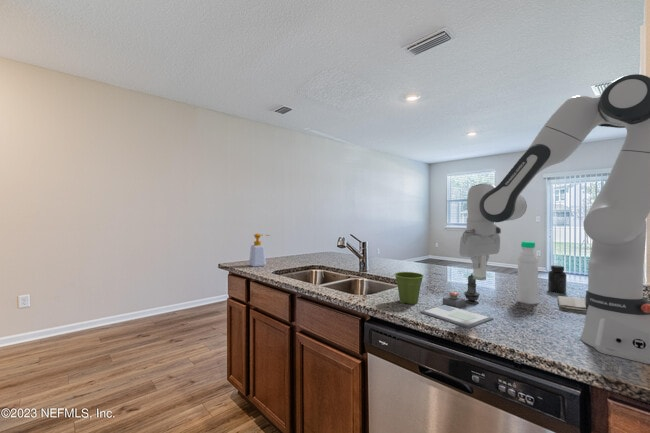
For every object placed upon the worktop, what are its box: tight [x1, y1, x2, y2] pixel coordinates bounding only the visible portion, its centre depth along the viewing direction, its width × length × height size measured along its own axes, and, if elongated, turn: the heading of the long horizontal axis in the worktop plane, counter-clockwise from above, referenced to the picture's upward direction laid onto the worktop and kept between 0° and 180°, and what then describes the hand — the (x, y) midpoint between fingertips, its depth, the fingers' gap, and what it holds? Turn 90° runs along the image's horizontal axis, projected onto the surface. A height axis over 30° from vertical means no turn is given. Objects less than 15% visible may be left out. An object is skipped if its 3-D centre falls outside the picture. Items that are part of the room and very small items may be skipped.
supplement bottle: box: [547, 265, 567, 294], centre depth 144 cm, size 7×7×12 cm
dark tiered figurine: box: [463, 273, 480, 305], centre depth 126 cm, size 6×6×12 cm
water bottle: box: [516, 240, 539, 305], centre depth 126 cm, size 7×7×25 cm
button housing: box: [442, 295, 466, 308], centre depth 122 cm, size 6×6×2 cm
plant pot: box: [393, 271, 425, 305], centre depth 127 cm, size 12×12×11 cm
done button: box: [448, 291, 460, 300], centre depth 122 cm, size 4×4×4 cm
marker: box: [472, 255, 487, 281], centre depth 110 cm, size 3×3×10 cm
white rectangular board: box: [419, 304, 494, 329], centre depth 109 cm, size 19×15×1 cm
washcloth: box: [556, 295, 587, 315], centre depth 120 cm, size 12×18×3 cm, turn 146°
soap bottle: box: [248, 233, 270, 268], centre depth 214 cm, size 10×14×22 cm
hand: (479, 267), depth 110 cm, fingers closed on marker, 3 cm apart
